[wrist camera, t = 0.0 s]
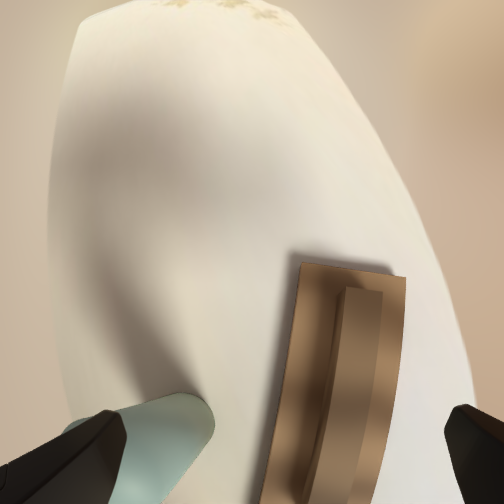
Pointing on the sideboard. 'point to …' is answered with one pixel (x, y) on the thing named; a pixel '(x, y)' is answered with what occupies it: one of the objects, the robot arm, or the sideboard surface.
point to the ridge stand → (336, 387)
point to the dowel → (159, 446)
